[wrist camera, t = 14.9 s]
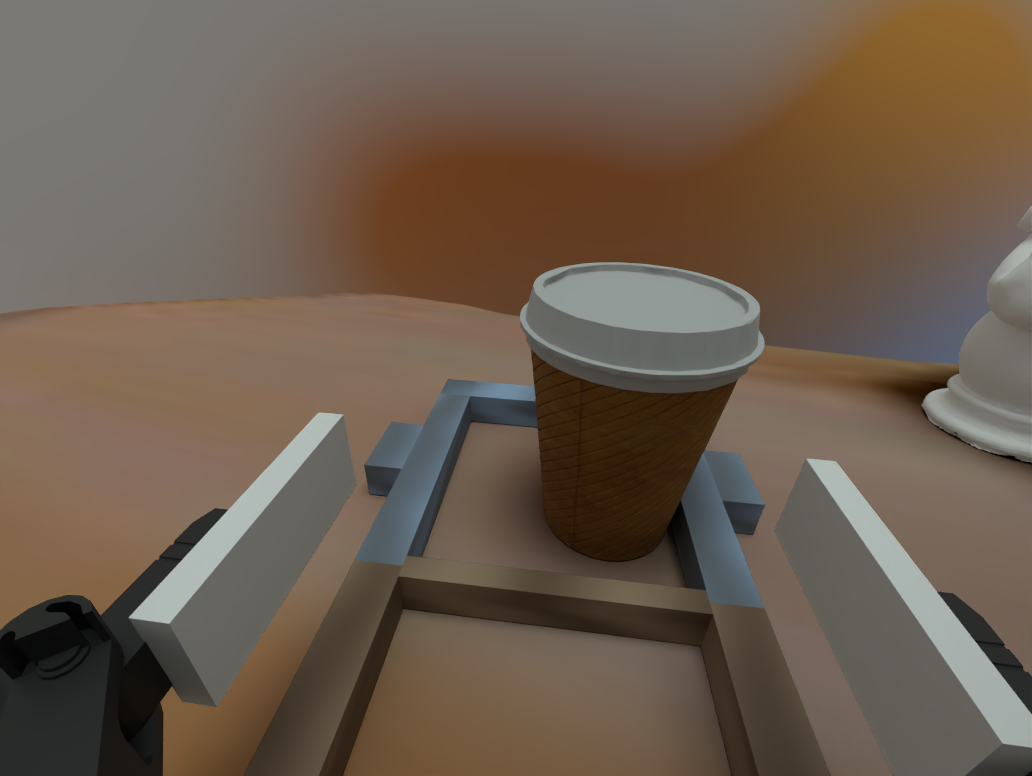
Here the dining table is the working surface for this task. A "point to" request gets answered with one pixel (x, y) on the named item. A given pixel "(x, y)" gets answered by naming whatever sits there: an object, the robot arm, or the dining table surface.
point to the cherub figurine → (995, 366)
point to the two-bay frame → (541, 601)
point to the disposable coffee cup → (630, 393)
